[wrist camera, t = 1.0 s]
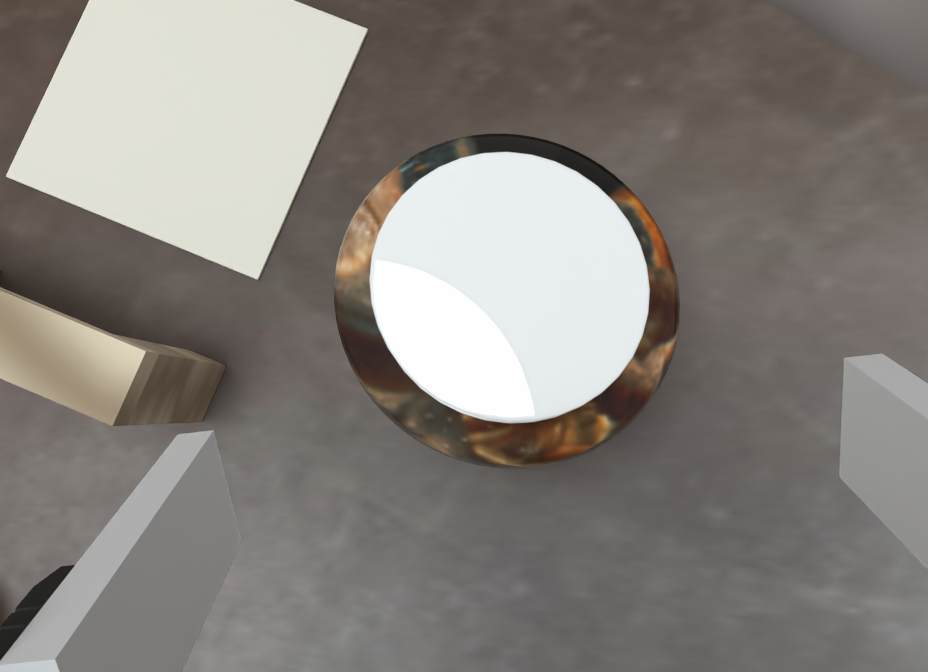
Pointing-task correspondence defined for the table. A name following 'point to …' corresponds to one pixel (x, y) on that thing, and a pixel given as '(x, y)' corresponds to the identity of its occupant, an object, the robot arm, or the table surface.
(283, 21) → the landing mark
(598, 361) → the jar
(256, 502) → the table surface
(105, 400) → the bridge
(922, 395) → the robot arm
